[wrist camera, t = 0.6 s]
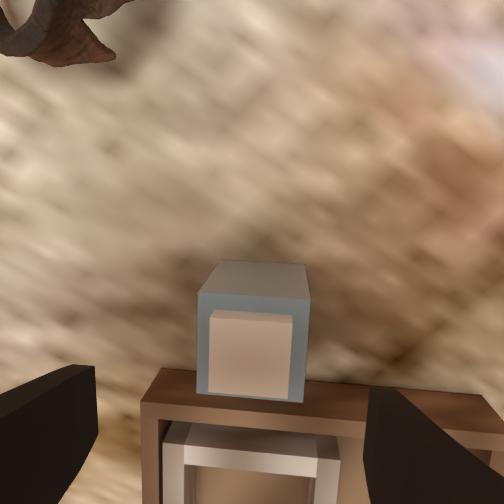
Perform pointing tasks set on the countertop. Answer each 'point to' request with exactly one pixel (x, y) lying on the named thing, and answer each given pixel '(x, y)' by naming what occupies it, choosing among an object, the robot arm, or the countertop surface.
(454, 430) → the box
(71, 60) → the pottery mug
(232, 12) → the countertop surface
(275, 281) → the block
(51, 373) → the robot arm
